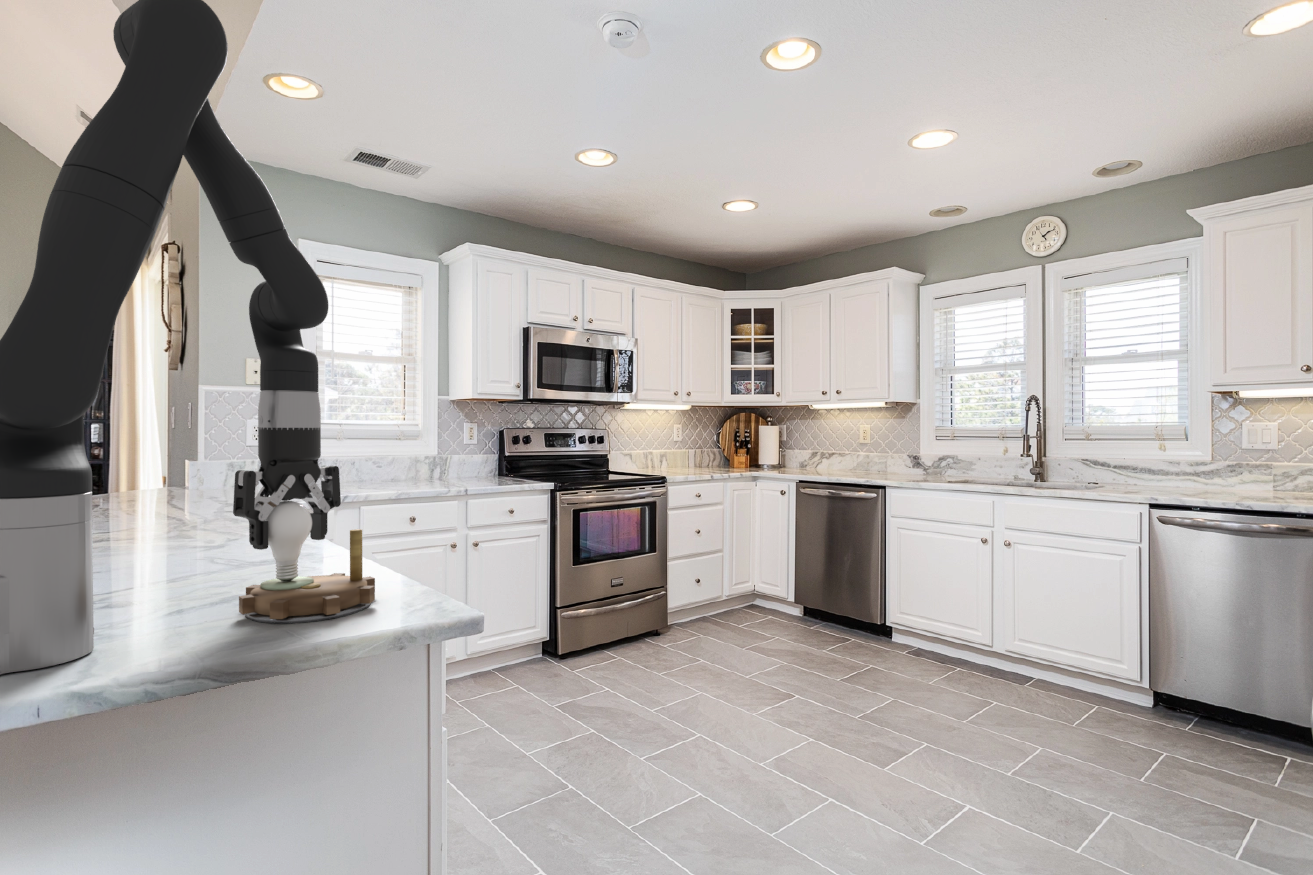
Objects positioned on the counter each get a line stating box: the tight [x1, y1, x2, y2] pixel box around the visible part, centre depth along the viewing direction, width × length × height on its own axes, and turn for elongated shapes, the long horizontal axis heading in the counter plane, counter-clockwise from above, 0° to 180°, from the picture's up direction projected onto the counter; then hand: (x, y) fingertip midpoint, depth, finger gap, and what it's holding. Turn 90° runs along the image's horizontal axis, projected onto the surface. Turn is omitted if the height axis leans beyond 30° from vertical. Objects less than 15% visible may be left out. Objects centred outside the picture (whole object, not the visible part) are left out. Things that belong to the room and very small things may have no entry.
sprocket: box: [238, 528, 376, 619], centre depth 92 cm, size 17×17×9 cm
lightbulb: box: [265, 500, 312, 582], centre depth 93 cm, size 6×6×11 cm
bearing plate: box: [245, 602, 372, 625], centre depth 92 cm, size 15×15×1 cm
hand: (290, 543), depth 94 cm, fingers open, 8 cm apart
